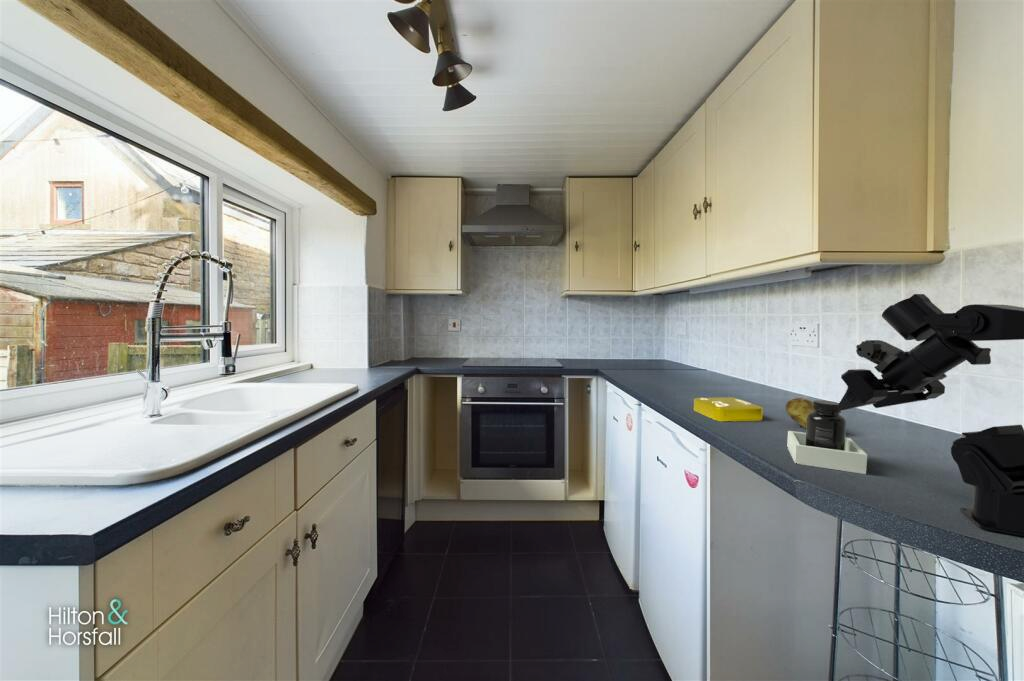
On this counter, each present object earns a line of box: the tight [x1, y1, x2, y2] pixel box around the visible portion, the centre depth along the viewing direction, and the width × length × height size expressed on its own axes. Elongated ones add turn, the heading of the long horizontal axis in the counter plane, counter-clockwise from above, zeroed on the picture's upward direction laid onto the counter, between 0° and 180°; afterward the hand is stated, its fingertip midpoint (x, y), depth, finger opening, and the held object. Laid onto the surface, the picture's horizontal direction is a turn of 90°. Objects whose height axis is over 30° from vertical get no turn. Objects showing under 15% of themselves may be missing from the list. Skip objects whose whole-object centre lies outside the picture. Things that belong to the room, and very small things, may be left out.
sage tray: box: [786, 430, 868, 475], centre depth 88 cm, size 12×12×4 cm
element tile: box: [693, 396, 764, 422], centre depth 125 cm, size 15×15×5 cm
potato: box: [785, 397, 814, 429], centre depth 111 cm, size 8×13×8 cm, turn 8°
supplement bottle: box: [805, 399, 847, 451], centre depth 87 cm, size 7×7×12 cm
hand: (857, 407), depth 81 cm, fingers open, 9 cm apart
